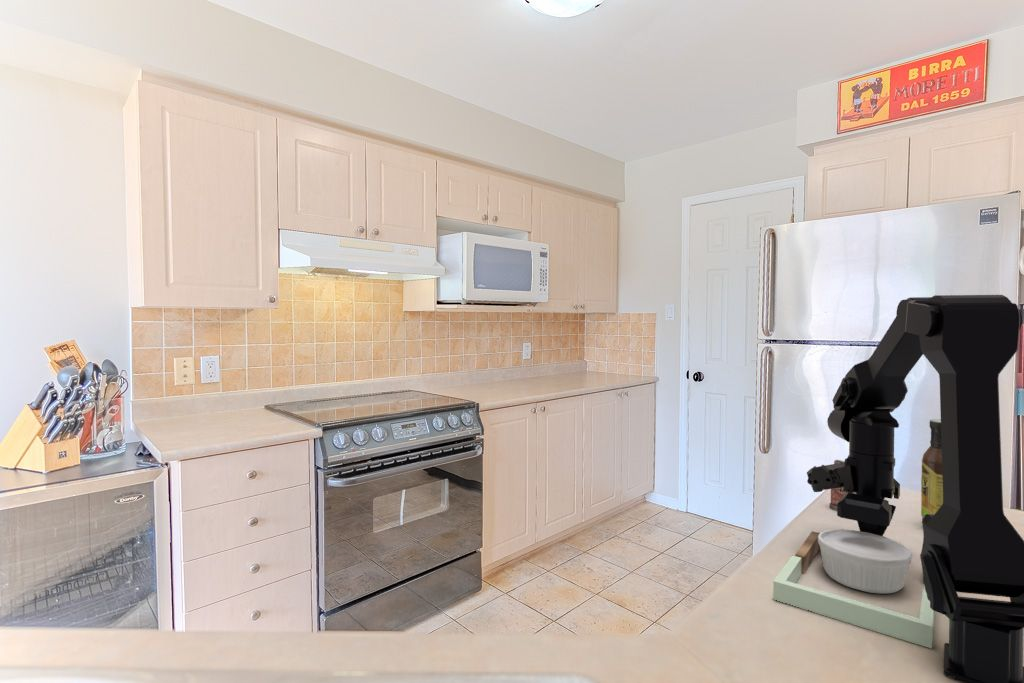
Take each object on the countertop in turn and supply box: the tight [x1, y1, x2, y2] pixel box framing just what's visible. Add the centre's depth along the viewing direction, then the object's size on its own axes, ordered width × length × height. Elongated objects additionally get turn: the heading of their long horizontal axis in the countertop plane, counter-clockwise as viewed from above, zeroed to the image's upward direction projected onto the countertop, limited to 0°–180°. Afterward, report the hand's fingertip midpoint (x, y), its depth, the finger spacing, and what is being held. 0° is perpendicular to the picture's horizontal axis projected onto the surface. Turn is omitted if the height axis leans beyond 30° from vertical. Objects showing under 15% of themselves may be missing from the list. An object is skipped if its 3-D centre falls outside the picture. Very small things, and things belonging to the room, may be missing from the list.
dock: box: [772, 555, 936, 650], centre depth 68 cm, size 10×16×2 cm, turn 50°
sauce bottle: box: [920, 418, 943, 522], centre depth 93 cm, size 6×6×20 cm
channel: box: [794, 531, 924, 584], centre depth 77 cm, size 12×16×3 cm
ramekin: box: [818, 529, 913, 595], centre depth 75 cm, size 11×11×5 cm
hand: (869, 551), depth 81 cm, fingers closed
